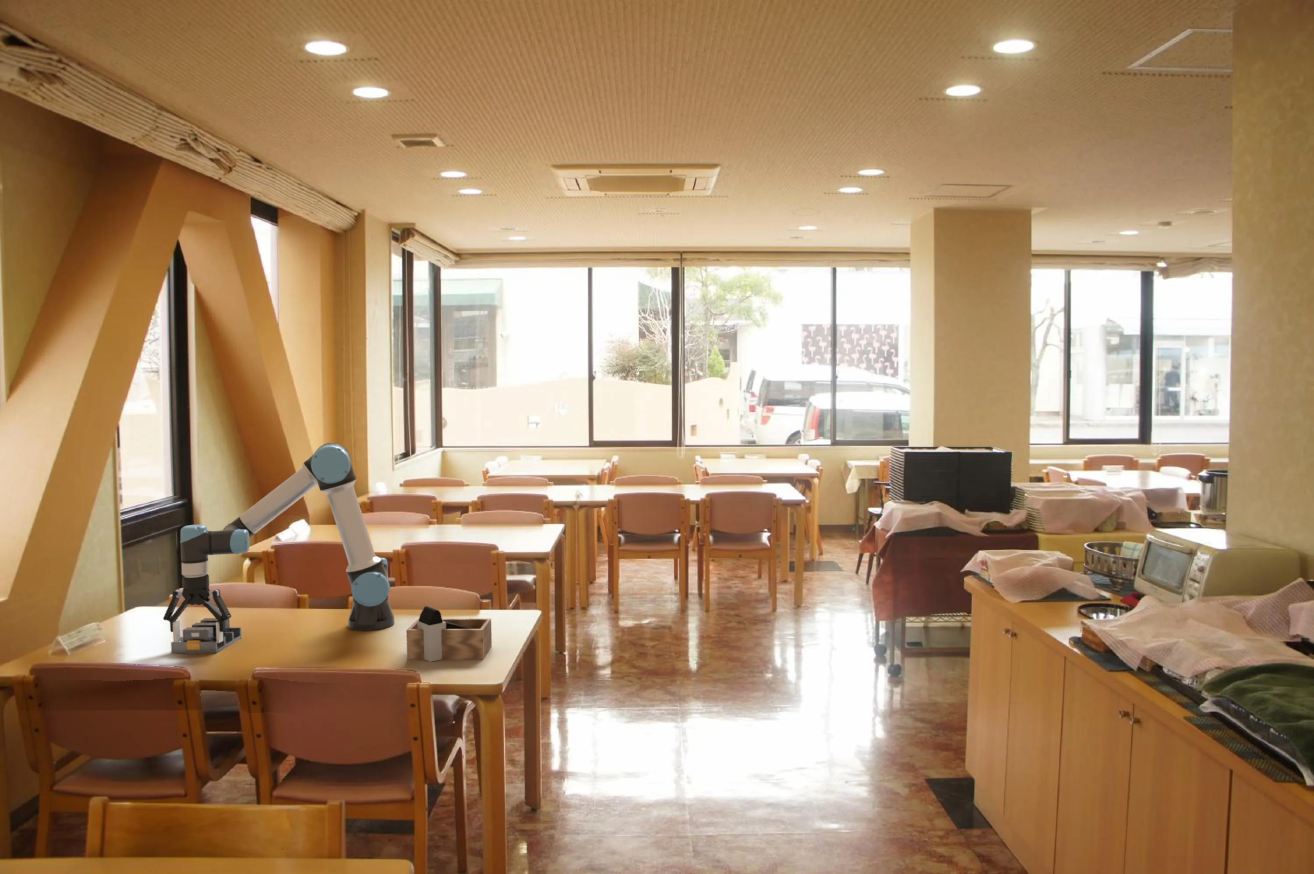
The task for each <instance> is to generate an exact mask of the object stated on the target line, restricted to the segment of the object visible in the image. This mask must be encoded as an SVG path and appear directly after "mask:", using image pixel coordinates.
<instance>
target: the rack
mask: <svg viewBox="0 0 1314 874" xmlns="http://www.w3.org/2000/svg"><path fill="white" fill-rule="evenodd" d="M199 621H200V622H195V623H193V624H191V627H213V642H201V640H188V641H187V642H183V636H180V641H179V642H174V641H170V646H171V647H170V649H171V651H170V653H171V654H175V655H177V654H193V655H194V654H218V653H220V652H221V651H223V650H224V649H226V648H228V647H229V646H231V645H232V644H234V643H235V642H237V641H239V640H240V639H242V627H241V626H240V627H239V626H237V627H236V626H233V627H232V626H231V627H230V625H231V624H230V622H231V621H230V618H229V619H227V620H225V631H223V641H222V642H220V643H217V637H216V622H218V620H217V619H216V618H215V617H212V618H210V617H208V618H207V617H206V618H205V617H204V618H203V619H200V620H199Z"/></svg>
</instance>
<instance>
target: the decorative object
mask: <svg viewBox="0 0 1314 874" xmlns="http://www.w3.org/2000/svg"><path fill="white" fill-rule="evenodd" d="M418 619H419V621H417V629H422V630H424V659H425V661H427V662H430V663H431V662H435V661H439V660H443V659H442V643H441V630H444V629H472V628H469V627H465V626H462V625H458V624H454V623H450V622H446V621H442V619H443V617H442V613H441V612H440V610H438V609H436V608H433V607H430V606H428V605H426V606H424V607H423V609H422V611H421V612H420V615H419V618H418Z"/></svg>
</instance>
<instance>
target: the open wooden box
mask: <svg viewBox="0 0 1314 874" xmlns="http://www.w3.org/2000/svg"><path fill="white" fill-rule="evenodd" d="M417 621H419V618H417V619H416V620H415V621H414V622H413V623H412V624H411V625H410V626H409V627H408V628H407V629H406V631H405V632H406V659H407V660H410V661H411V660H416V661H417V660H418V661H419V660H425V659H424V630H422V629H417ZM442 621H446V622H450V623H454V624H458V625H462V626H465V627H469V628H472V629H444V630H441V643H442V659H441V660H484V659H485V658H486V656H487V655H488V654H489V652H490V650H491V649H492V647H493V646H492V644H493V639H492V634H493V633H492V618H442ZM425 661H426V660H425Z"/></svg>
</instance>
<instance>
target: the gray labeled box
mask: <svg viewBox="0 0 1314 874" xmlns="http://www.w3.org/2000/svg"><path fill="white" fill-rule="evenodd" d="M182 637H183V642H187V641H188V640H201V642H213V627H192V626H191V627H190V626H189V627H186V628H184V629H182Z"/></svg>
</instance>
